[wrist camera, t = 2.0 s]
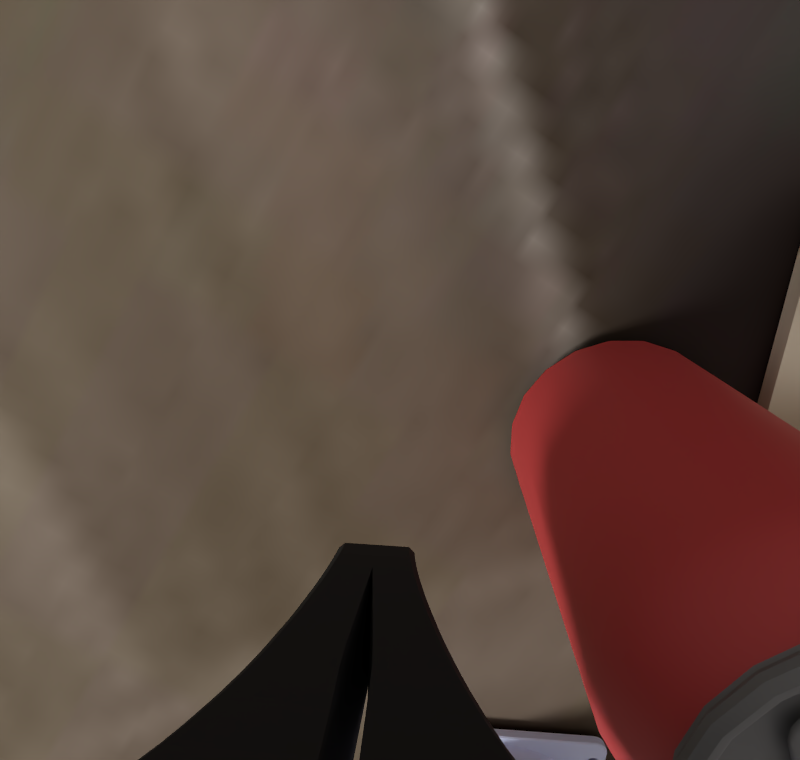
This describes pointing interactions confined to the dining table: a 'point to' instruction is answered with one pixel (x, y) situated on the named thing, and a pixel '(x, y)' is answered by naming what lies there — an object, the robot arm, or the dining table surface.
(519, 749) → the robot arm
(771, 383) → the birch tray
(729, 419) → the beer can
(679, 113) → the dining table surface
